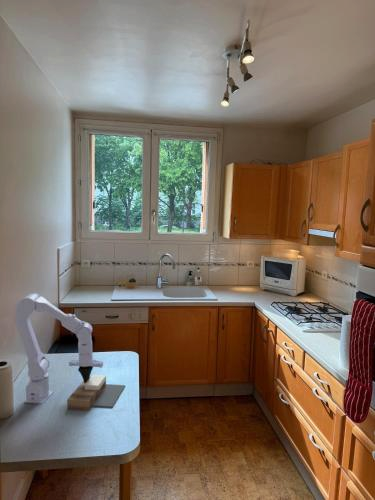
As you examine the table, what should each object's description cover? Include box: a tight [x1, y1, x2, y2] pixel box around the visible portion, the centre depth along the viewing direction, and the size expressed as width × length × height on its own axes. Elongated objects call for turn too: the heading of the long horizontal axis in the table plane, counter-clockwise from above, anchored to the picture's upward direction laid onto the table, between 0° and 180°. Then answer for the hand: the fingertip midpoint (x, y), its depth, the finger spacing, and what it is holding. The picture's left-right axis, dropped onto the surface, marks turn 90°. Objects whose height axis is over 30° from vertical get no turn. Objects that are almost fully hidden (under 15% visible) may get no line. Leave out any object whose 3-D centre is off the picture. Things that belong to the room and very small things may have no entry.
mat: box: [92, 383, 126, 409], centre depth 145 cm, size 17×8×1 cm, turn 173°
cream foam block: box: [84, 374, 107, 390], centre depth 147 cm, size 9×6×2 cm, turn 173°
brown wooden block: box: [66, 376, 107, 412], centre depth 144 cm, size 19×9×4 cm, turn 173°
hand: (86, 382), depth 148 cm, fingers closed
